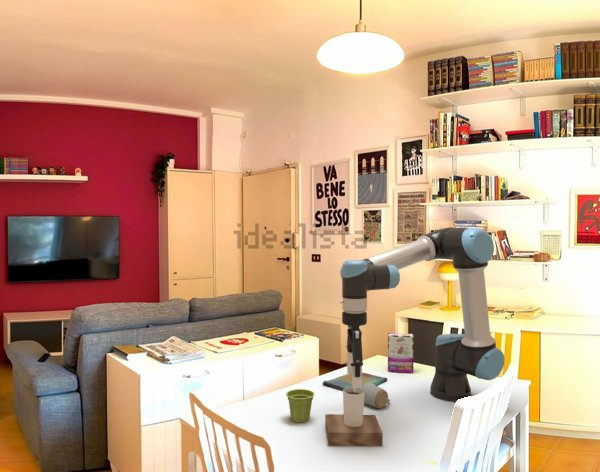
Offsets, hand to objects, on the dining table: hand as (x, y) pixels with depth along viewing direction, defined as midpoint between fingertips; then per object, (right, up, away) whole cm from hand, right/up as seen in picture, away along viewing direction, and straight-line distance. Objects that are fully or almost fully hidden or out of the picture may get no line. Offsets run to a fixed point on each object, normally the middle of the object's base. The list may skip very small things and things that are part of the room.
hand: (354, 379), depth 158 cm
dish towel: (+6, -17, +51) cm, 54 cm away
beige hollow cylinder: (0, -14, 0) cm, 14 cm away
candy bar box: (+27, -16, +69) cm, 76 cm away
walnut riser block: (-1, -17, 0) cm, 17 cm away
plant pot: (-17, -17, +13) cm, 27 cm away
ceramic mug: (+11, -17, +28) cm, 34 cm away
